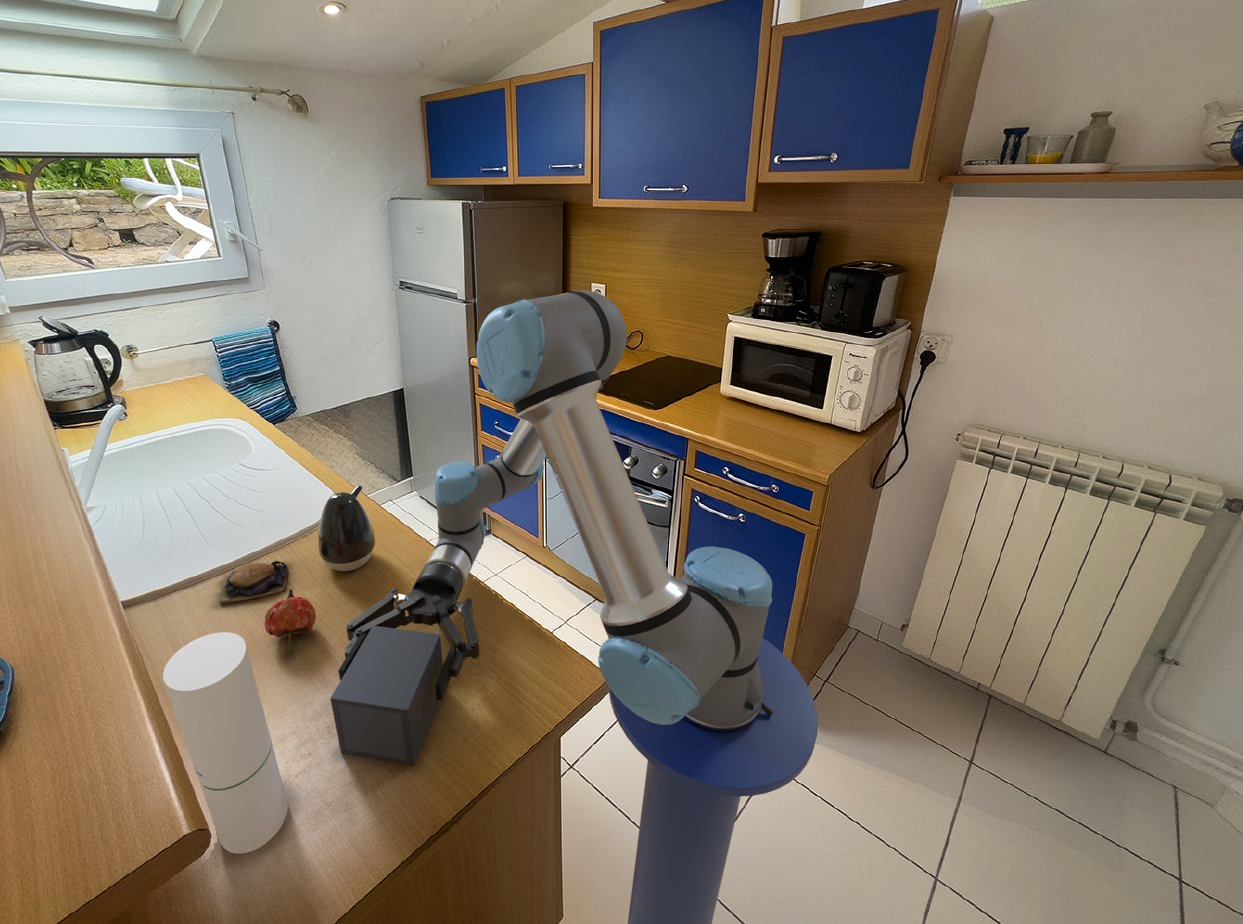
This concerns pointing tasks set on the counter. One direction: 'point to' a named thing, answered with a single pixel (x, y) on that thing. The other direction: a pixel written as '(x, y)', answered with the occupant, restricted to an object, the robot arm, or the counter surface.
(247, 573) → the bread roll
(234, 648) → the cylindrical container
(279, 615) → the pomegranate
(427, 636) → the dark grey box
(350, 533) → the pump dispenser
